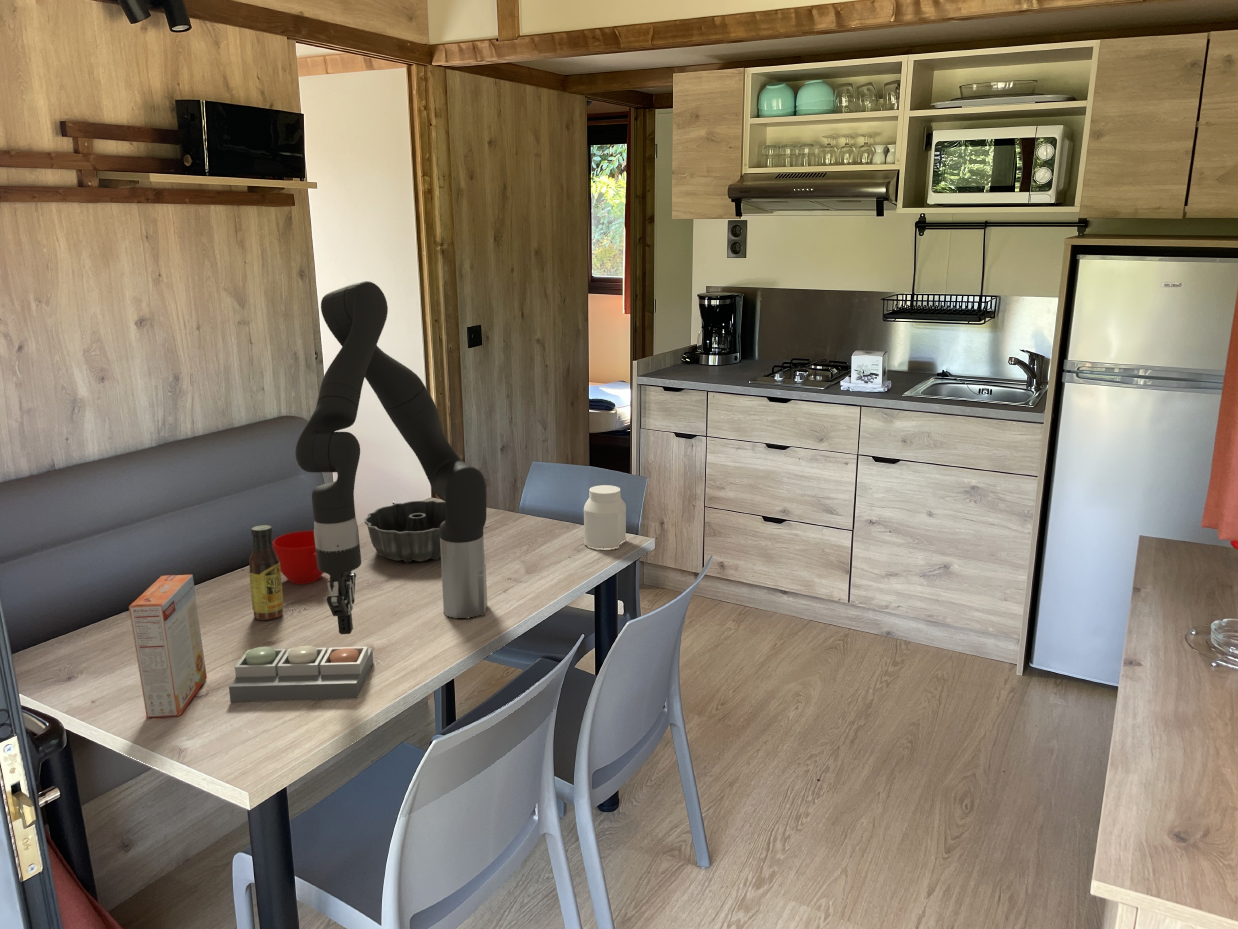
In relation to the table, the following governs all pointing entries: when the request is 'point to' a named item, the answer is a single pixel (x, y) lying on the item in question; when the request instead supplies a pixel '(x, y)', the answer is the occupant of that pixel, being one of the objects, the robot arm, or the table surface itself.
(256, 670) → the button panel
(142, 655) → the cracker box
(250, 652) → the sage button
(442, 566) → the robot arm
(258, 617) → the sauce bottle
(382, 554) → the bundt pan
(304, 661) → the cream button
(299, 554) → the ceramic cup
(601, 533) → the jar
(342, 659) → the terracotta button
